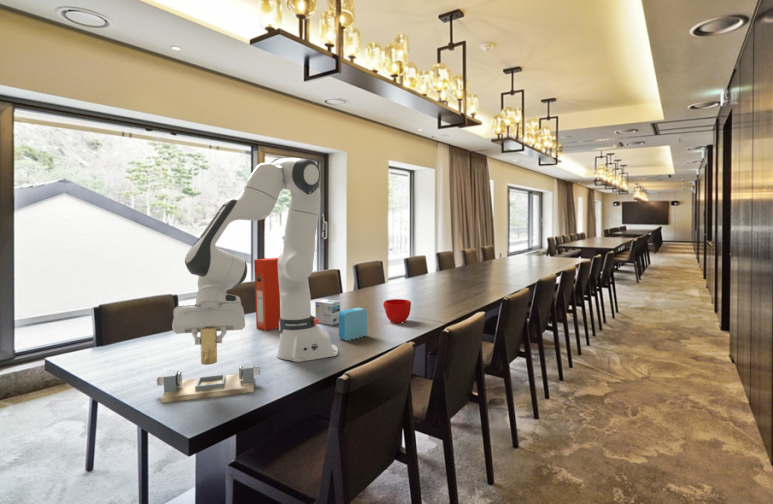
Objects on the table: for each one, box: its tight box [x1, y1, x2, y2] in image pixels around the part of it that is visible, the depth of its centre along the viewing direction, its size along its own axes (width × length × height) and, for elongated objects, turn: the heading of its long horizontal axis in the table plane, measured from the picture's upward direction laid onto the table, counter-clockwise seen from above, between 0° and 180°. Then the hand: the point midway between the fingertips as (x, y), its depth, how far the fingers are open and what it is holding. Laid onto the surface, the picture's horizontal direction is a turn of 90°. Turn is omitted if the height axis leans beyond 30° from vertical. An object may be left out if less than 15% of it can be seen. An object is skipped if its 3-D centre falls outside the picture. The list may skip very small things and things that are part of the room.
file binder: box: [253, 257, 280, 332], centre depth 195 cm, size 8×17×32 cm, turn 139°
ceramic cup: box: [383, 298, 412, 324], centre depth 205 cm, size 13×17×10 cm
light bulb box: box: [314, 298, 341, 326], centre depth 202 cm, size 11×7×11 cm, turn 58°
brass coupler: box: [199, 327, 218, 366], centre depth 122 cm, size 4×4×10 cm
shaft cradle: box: [156, 362, 261, 404], centre depth 123 cm, size 28×12×6 cm, turn 107°
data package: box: [338, 307, 368, 342], centre depth 176 cm, size 12×4×12 cm, turn 133°
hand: (208, 343), depth 122 cm, fingers closed on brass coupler, 4 cm apart
